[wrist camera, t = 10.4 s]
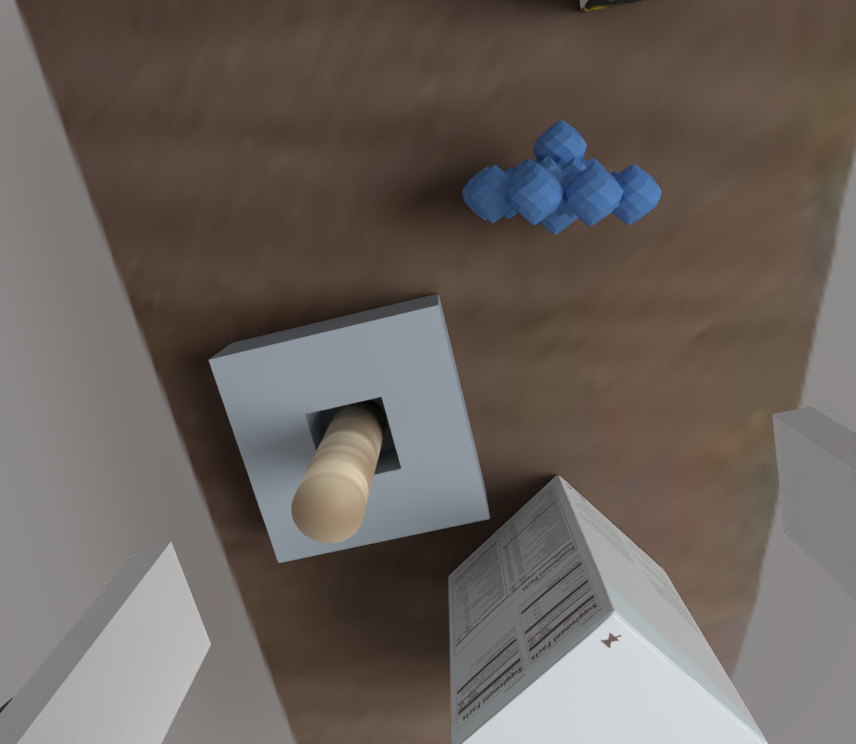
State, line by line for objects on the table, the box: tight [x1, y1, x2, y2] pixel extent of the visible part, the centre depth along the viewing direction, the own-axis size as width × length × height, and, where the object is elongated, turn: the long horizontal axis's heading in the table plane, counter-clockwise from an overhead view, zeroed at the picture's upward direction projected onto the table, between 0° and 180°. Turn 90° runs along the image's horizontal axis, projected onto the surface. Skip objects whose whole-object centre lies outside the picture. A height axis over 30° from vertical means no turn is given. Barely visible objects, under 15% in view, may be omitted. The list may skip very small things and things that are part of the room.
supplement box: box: [448, 475, 768, 744], centre depth 45 cm, size 13×13×18 cm
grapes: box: [462, 119, 662, 235], centre depth 39 cm, size 12×7×12 cm, turn 90°
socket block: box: [209, 293, 490, 563], centre depth 48 cm, size 16×16×5 cm
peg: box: [291, 400, 386, 544], centre depth 42 cm, size 4×4×14 cm
